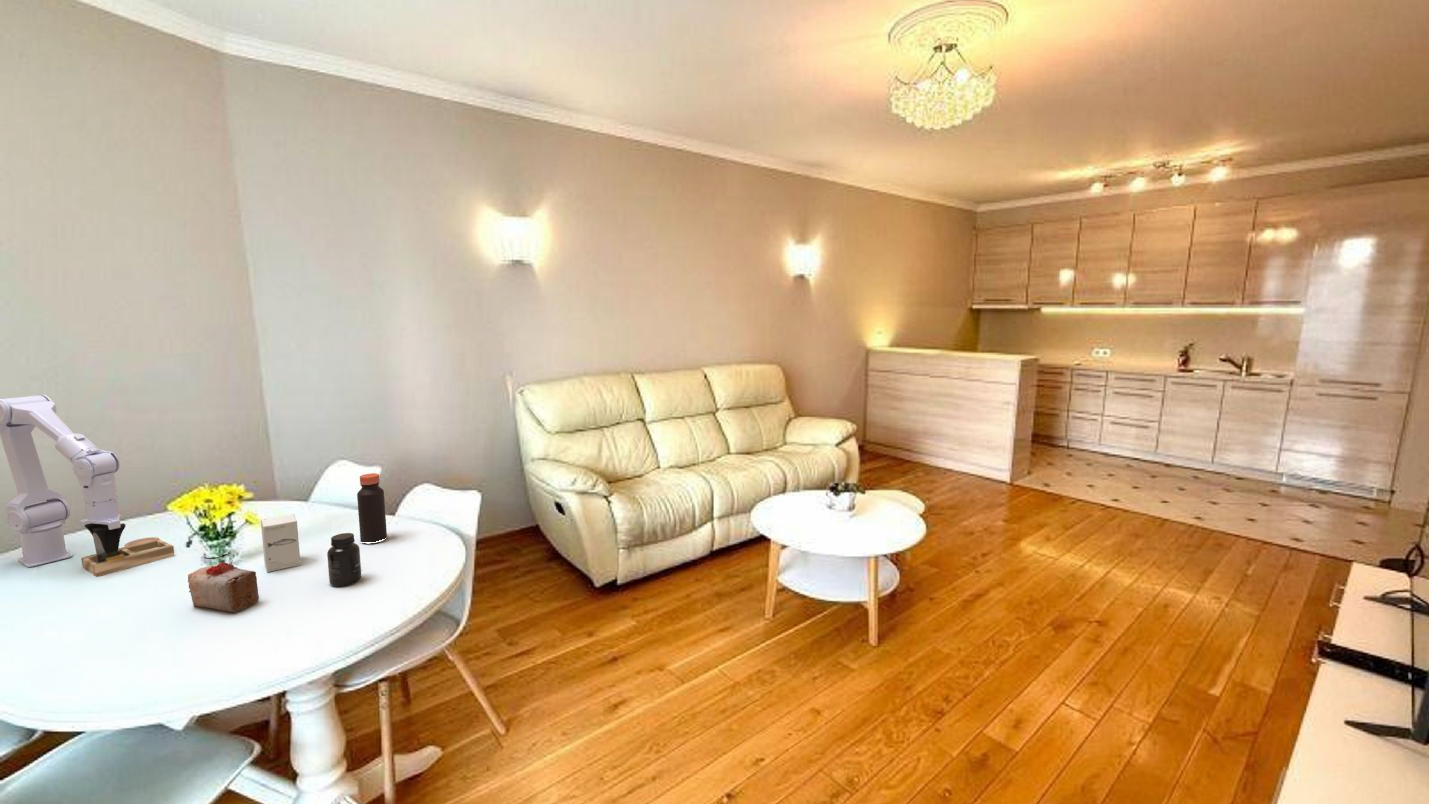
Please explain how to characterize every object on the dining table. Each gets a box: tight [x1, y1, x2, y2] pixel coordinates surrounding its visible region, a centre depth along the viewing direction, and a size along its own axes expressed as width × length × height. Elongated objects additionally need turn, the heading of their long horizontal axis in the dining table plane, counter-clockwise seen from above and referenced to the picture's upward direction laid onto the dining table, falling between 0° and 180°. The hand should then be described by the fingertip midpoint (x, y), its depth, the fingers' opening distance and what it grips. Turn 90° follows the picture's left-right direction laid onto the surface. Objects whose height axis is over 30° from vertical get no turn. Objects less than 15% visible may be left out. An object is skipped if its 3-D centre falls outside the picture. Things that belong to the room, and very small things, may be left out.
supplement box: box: [260, 513, 302, 573], centre depth 150 cm, size 7×7×13 cm
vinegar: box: [356, 473, 388, 543], centre depth 167 cm, size 7×7×20 cm
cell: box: [92, 532, 120, 563], centre depth 147 cm, size 4×4×9 cm
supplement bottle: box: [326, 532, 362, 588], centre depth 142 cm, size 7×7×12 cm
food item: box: [187, 559, 260, 614], centre depth 130 cm, size 14×8×10 cm, turn 77°
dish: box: [123, 536, 160, 547], centre depth 159 cm, size 7×7×2 cm
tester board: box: [81, 538, 175, 578], centre depth 151 cm, size 10×15×4 cm, turn 152°
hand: (108, 549), depth 147 cm, fingers closed on cell, 4 cm apart
